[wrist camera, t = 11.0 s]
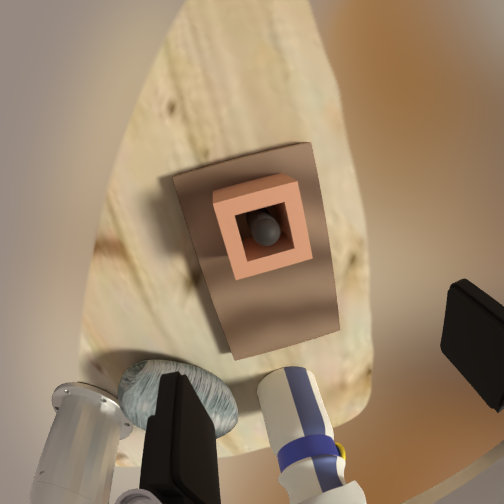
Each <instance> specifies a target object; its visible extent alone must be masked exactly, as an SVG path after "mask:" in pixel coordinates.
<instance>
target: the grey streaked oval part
mask: <svg viewBox="0 0 504 504" xmlns="http://www.w3.org/2000/svg"><path fill="white" fill-rule="evenodd" d="M176 371H179V372H180V374H181V375H184V374H186V375H187V377H188V379H189V380H190V382H191V384H192V386H193V388H194V390H195V391H196V393H197V395H198V397H199V399H200V400H201V402H202V404H203V406H204V407H205V409H206V411H207V413H208V414H209V416H210V418H211V419H212V421H213V423H214V426H215V433H216V439H217V438H219V437H221V436H224V435H225V434H227V433H228V432H230V431H231V430H232V429H233V428H234V427H235V425H236V424H237V422H238V415H239V413H238V408H237V404H236V401H235V399H234V397H233V394H232V392H231V390H230V389H229V387H228V386H227V385H226V384H225V383H224V382H223V381H222V380H221V379H220V378H218V377H217V376H216V375H214V374H212V373H211V372H209V371H206V370H204V369H201V368H199V367H196V366H193V365H190V364H185V363H180V362H175V361H169V360H154V359H153V360H144V361H141V362H138V363H136V364H134V365H132V366H131V367H129V368H128V369H127V370H126V371H125V373H124V374H123V376H122V378H121V380H120V383H119V387H118V400H119V405H120V408H121V410H122V412H123V414H124V415H125V417H126V418H127V419H128V420H129V421H130V422H131V423H133V424H134V425H136V426H137V427H139V428H141V429H143V430H145V431H146V426H147V420H148V418H149V416H151V415H155V411H156V403H157V396H158V389H159V382H160V377H161V375H162V374H166V373H171V372H176Z"/></svg>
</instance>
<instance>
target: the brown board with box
mask: <svg viewBox="0 0 504 504" xmlns="http://www.w3.org/2000/svg"><path fill="white" fill-rule="evenodd" d="M279 173H284V174H285V175H287V176H289V177H291V178H293V179H294V180H296V181H298V186H299V191H300V195H301V200H302V205H303V210H304V215H305V220H306V225H307V230H308V235H309V241H310V246H311V252H312V257H313V259H309V260H306V261H302V262H299V263H295V264H292V265H288V266H285V267H281V268H278V269H274V270H271V271H267V272H264V273H260V274H257V275H253V276H250V277H246V278H242V279H239V280H236V279H235V276H234V273H233V270H232V266H231V263H230V260H229V256H228V253H227V250H226V247H225V243H224V240H223V237H222V233H221V230H220V226H219V223H218V220H217V216H216V213H215V210H214V206H213V191H215V190H218V189H222V188H225V187H229V186H233V185H236V184H240V183H244V182H247V181H251V180H255V179H259V178H263V177H267V176H271V175H274V174H279ZM173 182H174V185H175V188H176V192H177V195H178V198H179V201H180V205H181V208H182V211H183V214H184V217H185V221H186V224H187V227H188V230H189V233H190V236H191V239H192V242H193V245H194V248H195V251H196V254H197V257H198V260H199V263H200V266H201V269H202V272H203V275H204V278H205V281H206V284H207V287H208V290H209V292H210V295H211V298H212V301H213V304H214V306H215V309H216V312H217V315H218V317H219V320H220V323H221V326H222V328H223V331H224V334H225V336H226V339H227V342H228V344H229V347H230V350H231V352H232V355H233V357H234V360H235V361H236V360H240V359H244V358H248V357H251V356H255V355H259V354H263V353H267V352H270V351H274V350H277V349H281V348H285V347H288V346H291V345H295V344H298V343H302V342H305V341H308V340H311V339H315V338H318V337H321V336H324V335H327V334H330V333H333V332H336V331H339V330H340V324H339V314H338V305H337V296H336V288H335V280H334V272H333V265H332V258H331V251H330V244H329V237H328V231H327V225H326V219H325V213H324V207H323V201H322V195H321V190H320V185H319V179H318V174H317V169H316V164H315V159H314V154H313V149H312V145H311V142H304V143H299V144H294V145H290V146H285V147H280V148H276V149H272V150H267V151H263V152H259V153H255V154H251V155H247V156H243V157H239V158H235V159H231V160H227V161H224V162H220V163H216V164H213V165H209V166H205V167H202V168H198V169H195V170H192V171H188V172H185V173H182V174H178V175H175V176H174V177H173ZM235 219H236V222H237V226H238V230H239V233H240V237H241V239H244V238H248V237H252V236H253V238H254V240H255V241H256V242H257V243H258V244H260V245H262V246H270V245H273V244H274V243H276V242H277V240H278V239H279V237H280V229H281V228H280V223H279V219H278V215H277V210H276V206H275V205H271V206H267V207H263V208H260V209H256V210H252V211H249V212H245V213H241V214H238V215H235Z"/></svg>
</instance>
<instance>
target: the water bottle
mask: <svg viewBox="0 0 504 504" xmlns="http://www.w3.org/2000/svg"><path fill="white" fill-rule="evenodd" d="M257 395H258V399H259V402H260V406H261V409H262V413H263V417H264V421H265V425H266V429H267V434H268V438H269V442H270V445H271V448H272V451H273V453H274V454H275V455H276V457H277V458H278V462H279V466H280V470H281V474H280V476H279V478H278V481H279V483H280V484H281V485H282V486H283V487H285V488H286V490H287V492H288V495H289V499H290V504H367V503H366V499H365V495H364V492H363V490H362V489H361V487H359V485H358V484H357V482H356V481H352V482H350V483H348V484H346V482H345V480H344V468H345V464H346V463H345V459H346V455H345V450H344V448H343V446H342V445H341V444H340V443H334V434H333V429H332V425H331V423H330V420H329V417H328V415H327V412H326V409H325V407H324V404H323V401H322V398H321V395H320V392H319V389H318V386H317V383H316V380H315V377H314V375H313V374H312V373H311V372H310V371H309V370H307V369H305V368H302V367H285V368H281V369H278V370H275V371H273V372H271V373H270V374H268V375H267V376H265V377H264V378H263V379H262V380H261V382H260V383H259V385H258V388H257Z"/></svg>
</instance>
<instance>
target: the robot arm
mask: <svg viewBox="0 0 504 504" xmlns="http://www.w3.org/2000/svg"><path fill="white" fill-rule="evenodd" d="M440 346H441V350H442V352H443V354H444V355H445V356H446V357H447V358H448V359H449V360H450V362H451V363H452V364H453V365H454V366H455V367H456V368H457V369H458V371H459V372H460V373H461V374H462V375H463V376H464V377H465V378H466V380H467V381H468V382H469V383H470V384H471V386H472V387H473V388H474V389H475V390H476V391H477V392H478V394H479V395H480V396H481V397H482V399H483V400H484V401H485V402H486V403H487V405H488V406H489V407H490V408H494V409H495V410H496V411H497V413H499V412H500V411H501V410H503V409H504V306H502V305H501V304H500V303H499V302H497V301H496V300H494V299H493V298H492V297H490V296H489V295H488V294H486V293H485V292H484V291H482V290H481V289H480V288H478V287H477V286H475V285H474V284H473V283H471V282H470V281H468V280H467V279H461V280H459V281H457V282H455V283H453V284H451V286H450V289H449V290H448V294H447V304H446V311H445V319H444V326H443V333H442V338H441V344H440ZM52 404H53V407H54V409H55V411H56V413H57V414H56V417H55V419H54V422H53V424H52V427H51V430H50V432H49V435H48V438H47V441H46V444H45V446H44V449H43V452H42V455H41V458H40V461H39V464H38V467H37V470H36V473H35V476H34V480H33V483H32V486H31V490H30V504H109V498H110V492H111V485H112V478H113V473H114V467H115V461H116V456H117V450H118V445H119V440H122V439H125V438H126V437H128V436H129V435H130V434H131V433H132V429H133V423H131V422H130V421H129V420H128V419H127V418H126V417H125V415H124V414H123V412H122V410H121V408H120V405H119V400H118V399H116V398H115V397H114V396H112V395H111V394H109V393H107V392H105V391H103V390H101V389H99V388H97V387H94V386H91V385H87V384H83V383H65V384H61V385H60V386H58V387H57V388H56V389H55V391H54V393H53V396H52ZM115 504H221V499H220V488H219V476H218V464H217V449H216V433H215V426H214V423H213V421H212V419H211V418H210V416H209V414H208V413H207V411H206V409H205V407H204V406H203V404H202V402H201V400H200V399H199V397H198V395H197V393H196V391H195V390H194V388H193V386H192V384H191V382H190V380H189V379H188V377H187V375H186V374H184V375H181V374H180V372H179V371H176V372H171V373H166V374H162V375H161V377H160V382H159V389H158V396H157V403H156V411H155V415H151V416H149V418H148V420H147V426H146V433H145V441H144V449H143V457H142V466H141V476H140V485H139V489H132V490H128V491H126V492H124V493H123V494H122V495H121V496H120V497H118V499H117V500H116V502H115ZM401 504H504V440H503V441H502V442H501V443H499V444H498V445H497V446H496V447H494V448H493V449H492V450H490V451H489V452H488V453H486V454H485V455H483V456H482V457H480V458H479V459H478V460H476V461H475V462H473V463H472V464H470V465H469V466H467V467H466V468H464V469H463V470H461V471H460V472H458V473H456V474H455V475H453V476H451V477H450V478H448V479H446V480H445V481H443V482H441V483H440V484H438V485H436V486H434V487H432V488H431V489H429V490H427V491H425V492H423V493H422V494H419V495H417V496H415V497H413V498H411V499H410V500H407V501H405V502H403V503H401Z"/></svg>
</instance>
